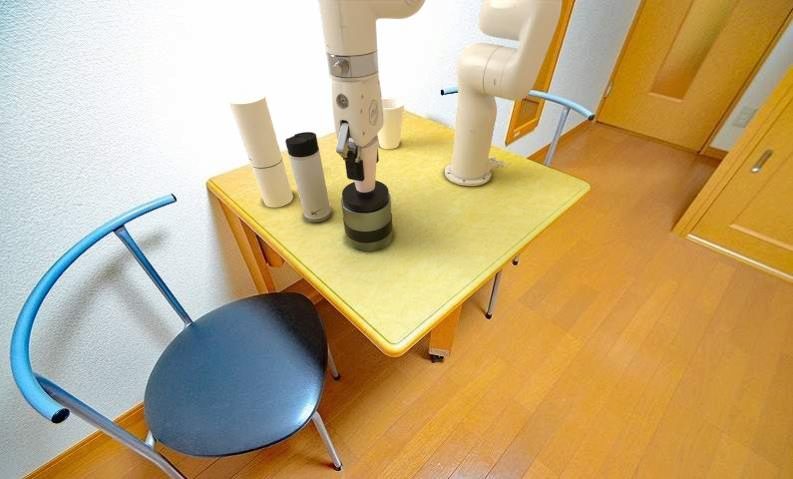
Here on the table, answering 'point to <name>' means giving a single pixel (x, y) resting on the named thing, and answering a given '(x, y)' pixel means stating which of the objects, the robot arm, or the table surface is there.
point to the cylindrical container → (261, 147)
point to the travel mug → (309, 176)
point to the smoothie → (367, 165)
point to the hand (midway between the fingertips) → (363, 169)
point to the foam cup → (391, 123)
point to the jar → (367, 217)
